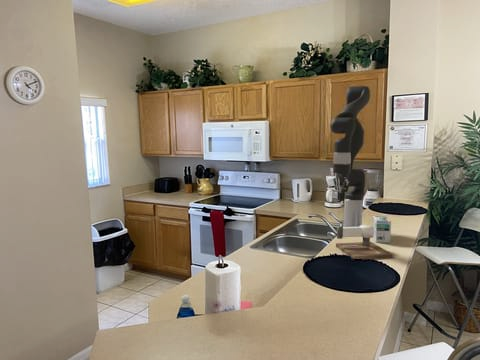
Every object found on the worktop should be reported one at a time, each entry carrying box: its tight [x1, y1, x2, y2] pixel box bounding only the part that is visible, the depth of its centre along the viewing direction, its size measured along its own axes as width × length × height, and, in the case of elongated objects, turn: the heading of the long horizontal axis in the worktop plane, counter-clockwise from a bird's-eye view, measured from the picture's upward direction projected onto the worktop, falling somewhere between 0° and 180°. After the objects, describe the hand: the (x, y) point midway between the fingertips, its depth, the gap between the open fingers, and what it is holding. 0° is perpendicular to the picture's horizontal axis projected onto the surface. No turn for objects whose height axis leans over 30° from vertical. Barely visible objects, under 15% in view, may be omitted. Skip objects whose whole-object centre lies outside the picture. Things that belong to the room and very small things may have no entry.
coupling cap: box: [336, 224, 374, 240], centre depth 154 cm, size 17×6×5 cm, turn 98°
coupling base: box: [335, 237, 394, 260], centre depth 151 cm, size 18×17×6 cm
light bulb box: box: [372, 215, 392, 244], centre depth 168 cm, size 11×7×11 cm, turn 168°
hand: (340, 200), depth 158 cm, fingers closed
